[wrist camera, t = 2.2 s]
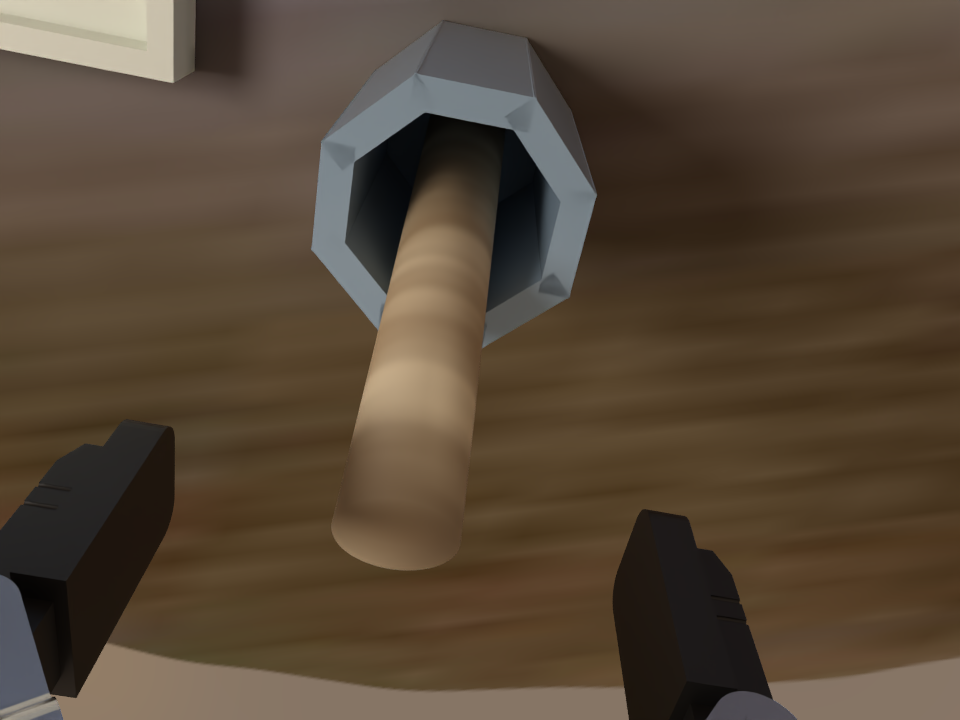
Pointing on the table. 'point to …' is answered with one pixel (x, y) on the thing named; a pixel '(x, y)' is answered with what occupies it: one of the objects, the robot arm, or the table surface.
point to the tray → (105, 34)
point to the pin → (426, 361)
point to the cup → (396, 154)
